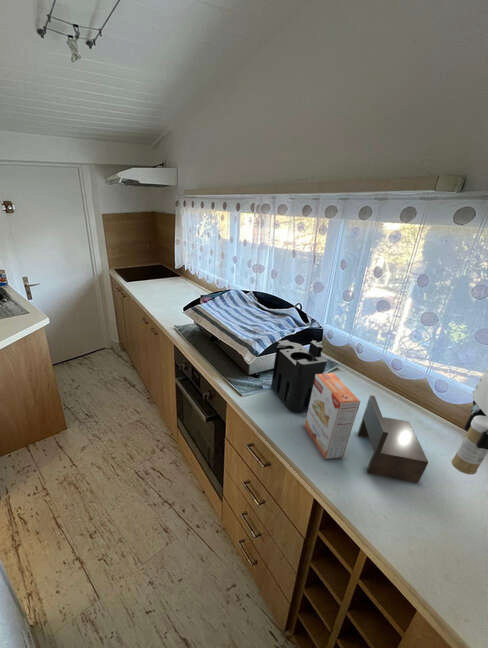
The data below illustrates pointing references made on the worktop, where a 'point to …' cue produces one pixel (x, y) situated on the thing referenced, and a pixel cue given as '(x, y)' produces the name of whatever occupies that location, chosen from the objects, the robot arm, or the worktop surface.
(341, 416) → the cracker box
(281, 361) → the black machined bracket
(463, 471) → the sprinkles bottle
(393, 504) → the worktop surface
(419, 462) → the spice shelf
